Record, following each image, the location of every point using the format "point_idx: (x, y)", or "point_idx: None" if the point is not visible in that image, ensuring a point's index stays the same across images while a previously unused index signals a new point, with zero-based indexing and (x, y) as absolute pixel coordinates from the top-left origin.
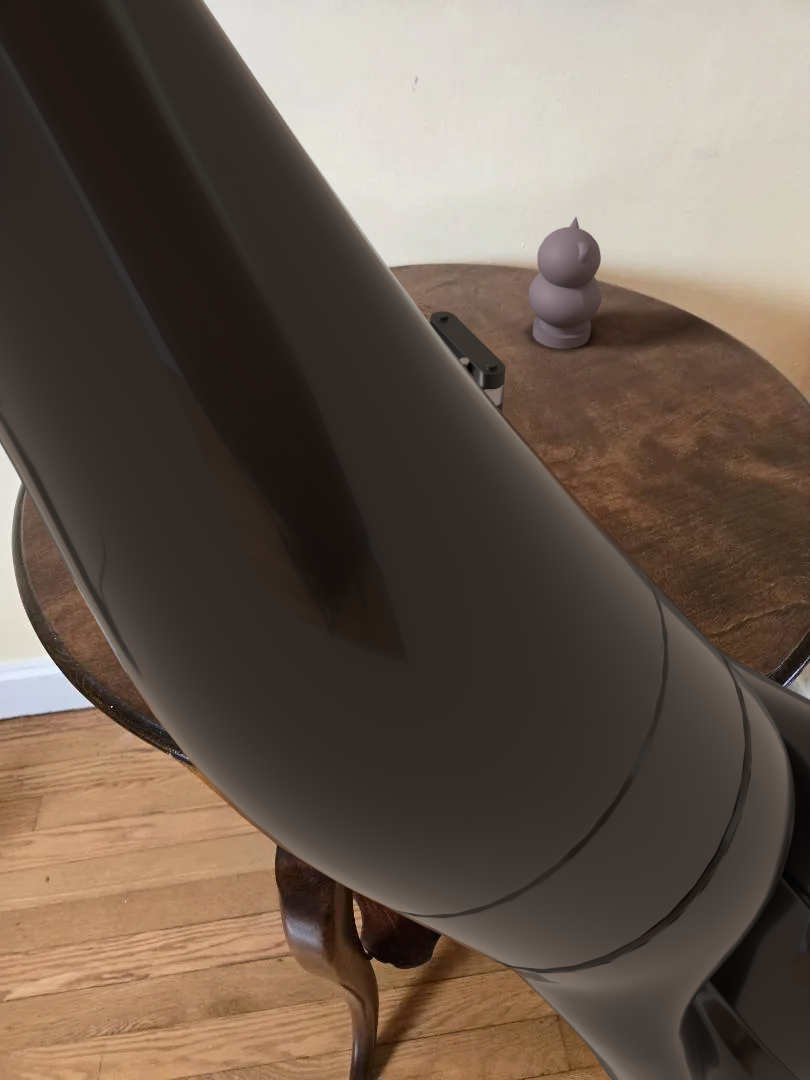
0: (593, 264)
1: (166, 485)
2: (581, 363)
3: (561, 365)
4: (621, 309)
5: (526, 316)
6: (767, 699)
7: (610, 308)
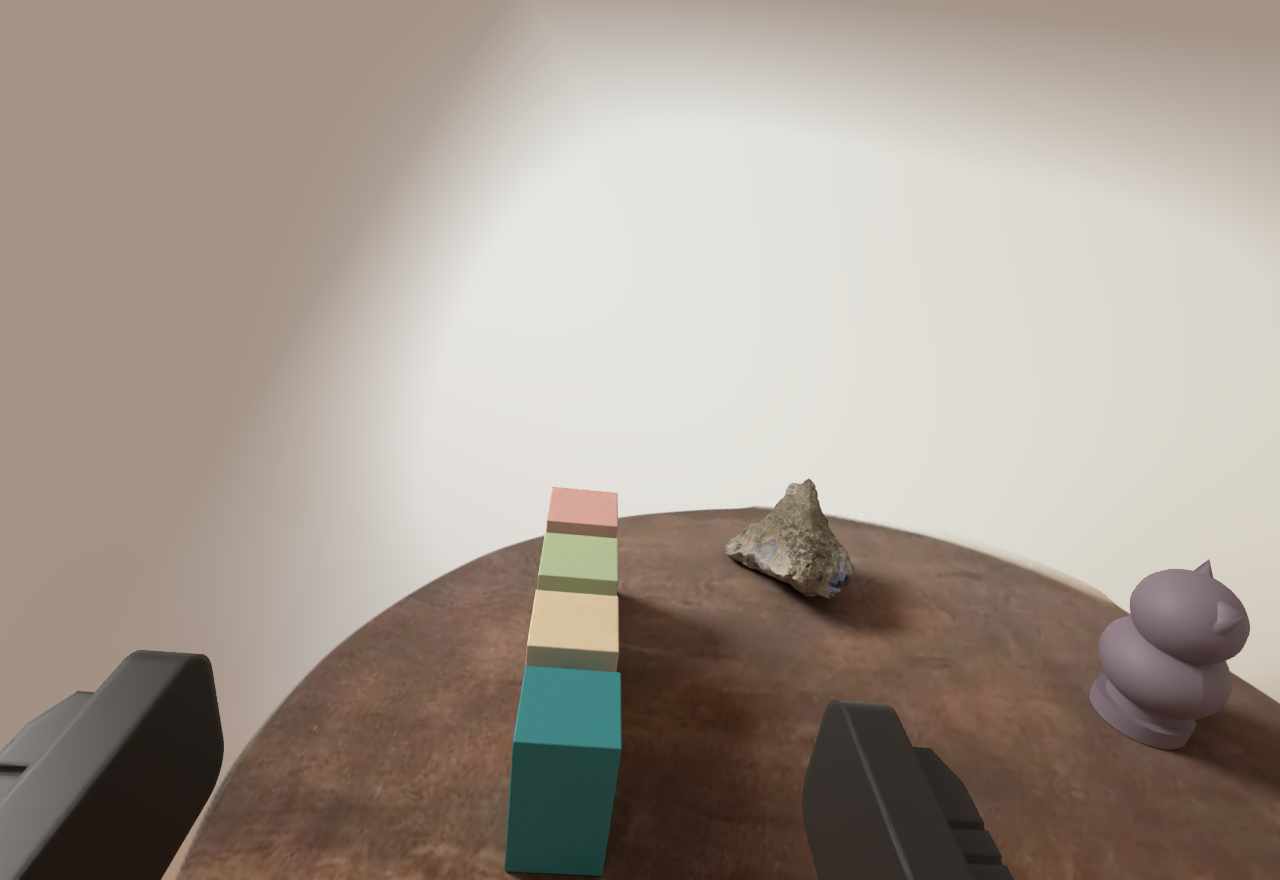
0: (1237, 643)
1: None
2: (1175, 783)
3: (1138, 772)
4: (1242, 710)
5: (1080, 663)
6: None
7: None
